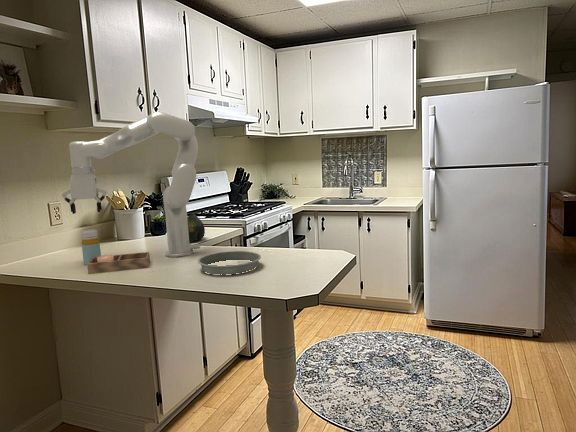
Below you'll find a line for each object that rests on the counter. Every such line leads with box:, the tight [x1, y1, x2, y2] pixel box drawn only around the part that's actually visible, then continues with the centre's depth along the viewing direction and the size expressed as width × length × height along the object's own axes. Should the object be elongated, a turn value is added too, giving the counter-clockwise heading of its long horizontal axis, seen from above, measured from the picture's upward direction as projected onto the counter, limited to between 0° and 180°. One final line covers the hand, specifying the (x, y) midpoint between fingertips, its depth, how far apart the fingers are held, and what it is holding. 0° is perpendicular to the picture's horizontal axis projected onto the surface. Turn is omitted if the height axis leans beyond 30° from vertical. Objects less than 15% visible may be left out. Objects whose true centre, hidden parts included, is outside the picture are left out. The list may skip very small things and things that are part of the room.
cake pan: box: [197, 250, 262, 275], centre depth 174 cm, size 25×25×4 cm
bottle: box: [80, 229, 102, 267], centre depth 188 cm, size 7×7×15 cm
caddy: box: [87, 251, 151, 275], centre depth 179 cm, size 22×12×5 cm, turn 104°
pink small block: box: [97, 254, 114, 262], centre depth 178 cm, size 6×6×5 cm
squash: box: [187, 213, 206, 243], centre depth 232 cm, size 14×15×15 cm
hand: (86, 212), depth 185 cm, fingers open, 9 cm apart
